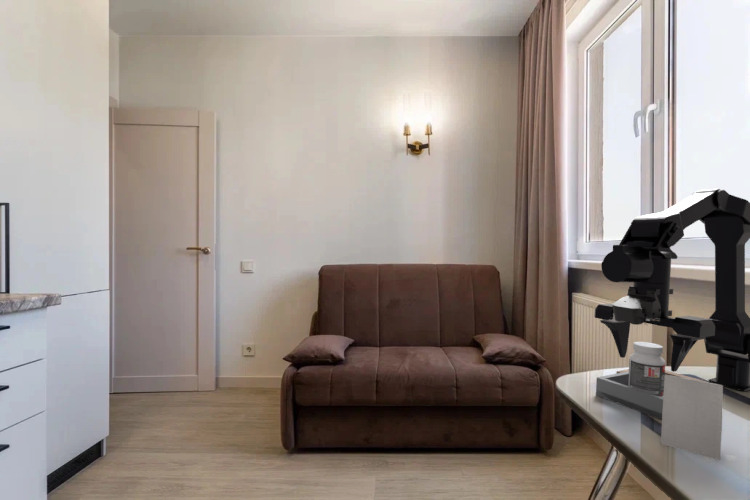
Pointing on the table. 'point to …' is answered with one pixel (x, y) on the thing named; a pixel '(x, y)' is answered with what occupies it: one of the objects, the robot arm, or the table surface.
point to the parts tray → (628, 394)
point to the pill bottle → (647, 368)
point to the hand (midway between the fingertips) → (646, 363)
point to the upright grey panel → (692, 416)
